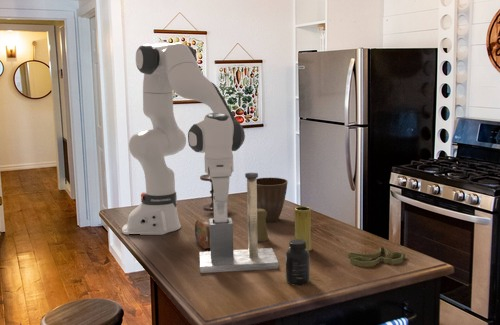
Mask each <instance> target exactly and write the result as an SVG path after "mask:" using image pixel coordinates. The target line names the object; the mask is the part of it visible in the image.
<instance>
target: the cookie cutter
mask: <svg viewBox="0 0 500 325" xmlns="http://www.w3.org/2000/svg"><path fill="white" fill-rule="evenodd" d="M378 250H379V251H378V252H375V253H369V254H367V253H356V252H348V254H347V255H348V256H347V258H348V259H349V258H350V259H349V260H350V261H349V263H350V264H352V265H353V264H354V265H353V266H356V265H357V267H362V266H363V267H362V268H370V267H369V266H372V267H375V266H376V264H377V263H378V264H379V263H383V262H384V263H383V264H385V263H390V264H389V265H391V266H393V265H399V264H401V263H403V261H404V259H406V253H404V252H399V251H393V252H391V251H388V249H387V248H386V247H385V246H379V248H378ZM382 253H384V254H385V255H386V257H383V256H382ZM380 255H381V256H380ZM379 256H380V257H379ZM377 257H378V258H377ZM373 258H375V259H374V260H373ZM393 258H394V259H393ZM378 264H377V265H378ZM374 265H375V266H374Z"/></svg>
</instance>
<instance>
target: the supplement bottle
mask: <svg viewBox="0 0 500 325" xmlns="http://www.w3.org/2000/svg"><path fill="white" fill-rule="evenodd" d="M310 261H311V259H310V251H307V250H306V241H304V240H301V239H294V238H293V239H290V240H289V241H288V249H287V251H286V252H285V279H286V282H287V283H288V284H290V285H292V284H294V285H293V286H303V284H304V285H306V284H308V283H309V282H310V279H311V277H310V276H311V275H310V272H311V269H310V268H311V266H310Z"/></svg>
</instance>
